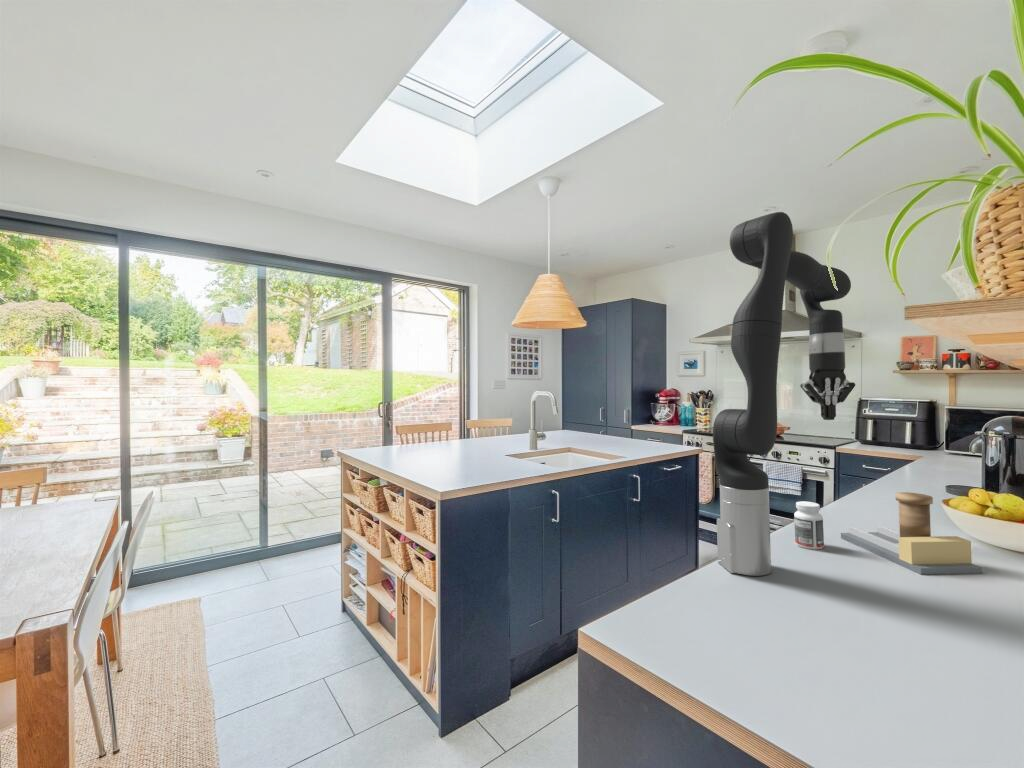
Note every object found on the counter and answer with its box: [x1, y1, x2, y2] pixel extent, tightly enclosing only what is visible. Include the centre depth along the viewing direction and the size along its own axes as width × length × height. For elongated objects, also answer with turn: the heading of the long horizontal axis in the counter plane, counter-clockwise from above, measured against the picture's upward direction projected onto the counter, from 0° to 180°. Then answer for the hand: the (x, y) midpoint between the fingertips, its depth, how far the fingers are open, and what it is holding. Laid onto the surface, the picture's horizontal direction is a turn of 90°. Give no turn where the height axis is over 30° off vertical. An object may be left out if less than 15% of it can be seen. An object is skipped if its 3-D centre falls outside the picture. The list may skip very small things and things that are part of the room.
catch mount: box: [840, 525, 983, 575], centre depth 100 cm, size 12×22×6 cm, turn 179°
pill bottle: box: [793, 500, 825, 550], centre depth 106 cm, size 6×6×10 cm
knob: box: [894, 491, 934, 545], centre depth 97 cm, size 6×6×12 cm
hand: (828, 419), depth 115 cm, fingers closed
